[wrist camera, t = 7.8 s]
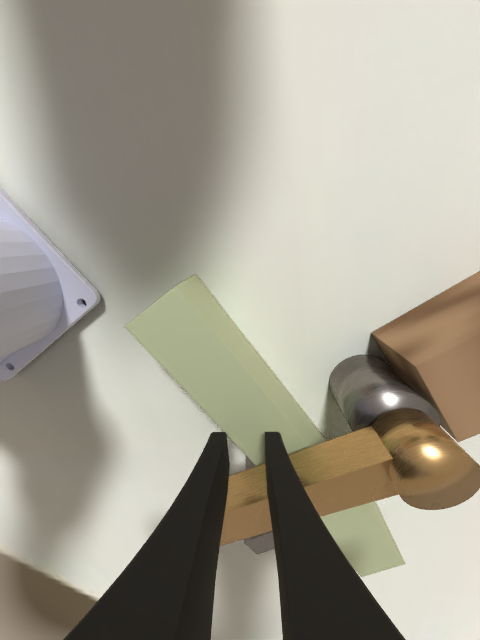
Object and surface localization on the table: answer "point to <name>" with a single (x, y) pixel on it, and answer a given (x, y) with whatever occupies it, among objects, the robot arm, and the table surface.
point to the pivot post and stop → (360, 406)
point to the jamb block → (441, 354)
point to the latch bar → (363, 473)
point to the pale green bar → (248, 402)
